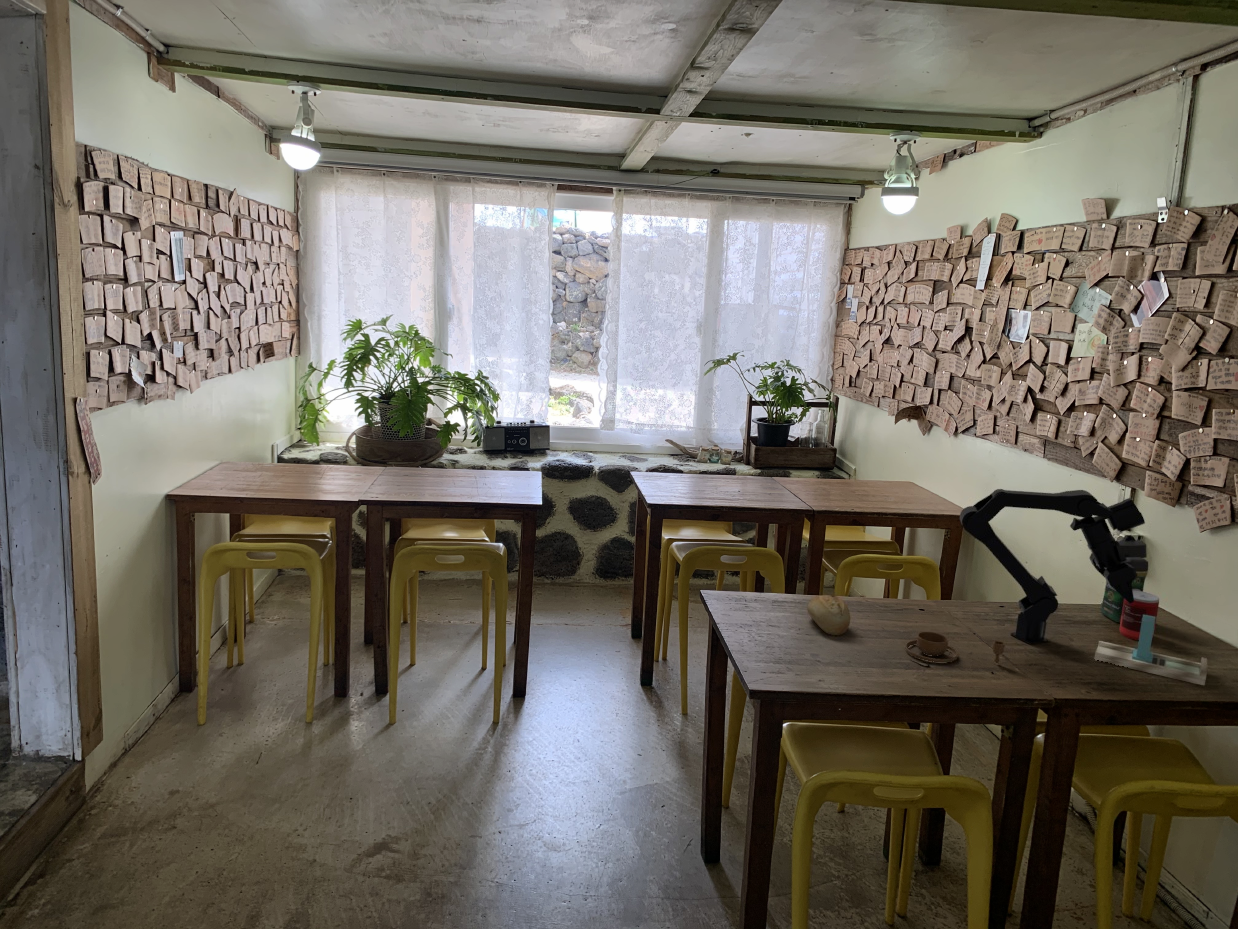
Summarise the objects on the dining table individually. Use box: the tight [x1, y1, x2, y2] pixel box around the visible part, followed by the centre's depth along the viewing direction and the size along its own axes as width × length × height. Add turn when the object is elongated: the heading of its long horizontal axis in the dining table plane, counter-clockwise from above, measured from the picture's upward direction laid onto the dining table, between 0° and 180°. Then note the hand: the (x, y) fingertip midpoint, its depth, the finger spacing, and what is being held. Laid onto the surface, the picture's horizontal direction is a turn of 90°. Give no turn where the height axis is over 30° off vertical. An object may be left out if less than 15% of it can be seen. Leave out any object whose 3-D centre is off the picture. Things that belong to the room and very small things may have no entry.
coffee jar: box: [1100, 557, 1149, 623], centre depth 231 cm, size 10×8×19 cm
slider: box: [1132, 614, 1155, 663], centre depth 201 cm, size 4×6×10 cm, turn 146°
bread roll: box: [806, 594, 851, 636], centre depth 218 cm, size 10×15×8 cm, turn 11°
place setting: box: [904, 631, 1006, 664], centre depth 200 cm, size 18×20×6 cm
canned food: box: [1119, 591, 1160, 641], centre depth 220 cm, size 8×8×11 cm
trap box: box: [1093, 640, 1208, 686], centre depth 201 cm, size 22×9×4 cm, turn 56°
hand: (1126, 596), depth 207 cm, fingers open, 9 cm apart
